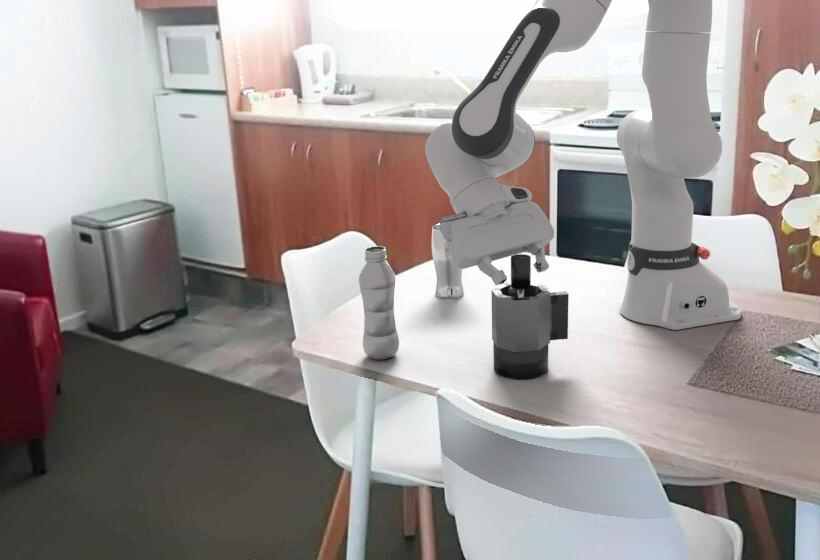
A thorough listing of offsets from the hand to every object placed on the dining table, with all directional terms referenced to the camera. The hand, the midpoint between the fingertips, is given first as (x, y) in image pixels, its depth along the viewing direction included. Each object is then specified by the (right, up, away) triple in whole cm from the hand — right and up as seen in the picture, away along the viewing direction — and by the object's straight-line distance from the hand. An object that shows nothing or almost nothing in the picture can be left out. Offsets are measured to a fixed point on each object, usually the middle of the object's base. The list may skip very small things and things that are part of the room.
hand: (523, 276), depth 140 cm
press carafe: (+2, -16, +6) cm, 17 cm away
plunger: (0, -10, +4) cm, 11 cm away
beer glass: (-10, -4, +43) cm, 44 cm away
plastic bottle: (-24, -14, +13) cm, 31 cm away
